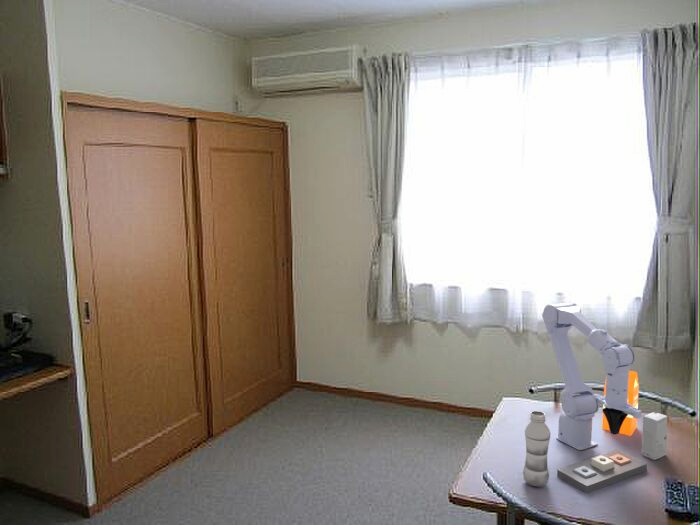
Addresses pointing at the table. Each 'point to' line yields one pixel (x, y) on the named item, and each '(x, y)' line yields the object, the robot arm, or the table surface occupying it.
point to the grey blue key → (584, 472)
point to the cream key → (602, 463)
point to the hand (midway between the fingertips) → (614, 433)
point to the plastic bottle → (536, 450)
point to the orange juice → (633, 391)
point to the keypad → (601, 472)
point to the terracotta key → (620, 459)
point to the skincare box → (654, 435)
